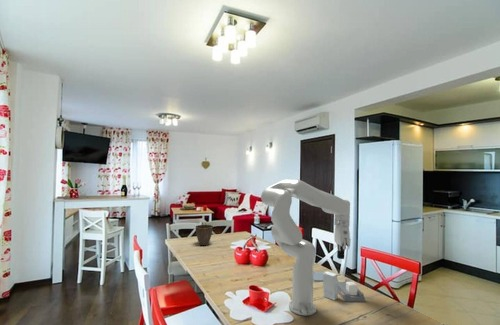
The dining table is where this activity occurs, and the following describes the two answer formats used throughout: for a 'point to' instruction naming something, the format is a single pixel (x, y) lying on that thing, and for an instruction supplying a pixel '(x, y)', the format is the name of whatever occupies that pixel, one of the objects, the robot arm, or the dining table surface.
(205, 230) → the plant pot
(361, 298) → the switch panel
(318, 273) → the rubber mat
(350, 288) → the switch tab
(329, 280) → the skincare box
